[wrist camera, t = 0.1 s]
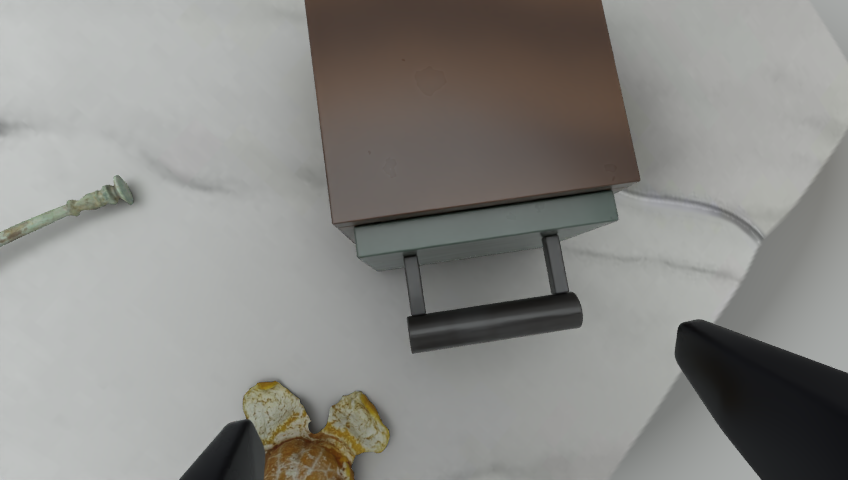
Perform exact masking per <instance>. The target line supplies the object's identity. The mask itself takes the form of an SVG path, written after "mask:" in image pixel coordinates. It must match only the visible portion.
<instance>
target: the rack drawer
mask: <svg viewBox="0 0 848 480" xmlns="http://www.w3.org/2000/svg"><path fill="white" fill-rule="evenodd" d="M615 221H618V214H617V209H616V204H615V199H614V194H613V191H612V190H608V191H601V192H594V193H587V194H580V195H573V196H566V197H559V198H552V199H545V200H538V201H534V200H530V201H523V202H515V203H508V204H501V205H494V206H487V207H480V208H473V209H466V210H459V211H452V212H445V213H438V214H431V215H424V216H416V217H409V218H402V219H395V220H388V221H381V223H375V224H368V225H361V226H355V227H354V236H355V244H356V252H357V257H358V258H359V259H360V260H362V261H363V262H365V263H366V264H367V265H369V266H370V267H372V268H373V269H375V270H376V271H384V270H390V269H397V268H404V267H405V274H406V281H407V288H408V295H409V302H410V309H411V315H412V316H409V317H407V323H408V331H409V338H410V345H411V351H412V353H413V354H415V353H421V352H427V351H434V350H440V349H446V348H453V347H459V346H465V345H472V344H478V343H485V342H491V341H497V340H504V339H510V338H516V337H523V336H529V335H536V334H542V333H548V332H555V331H561V330H567V329H574V328H579V327H581V325H582V322H583V313H582V308H581V304H580V302H579V299H578V297H577V296H576V294H575V293H573V292H569V288H568V283H567V277H566V272H565V267H564V262H563V256H562V251H561V246H560V241H563V240H565V239H568V238H571V237H574V236H576V235H579V234H582V233H585V232H588V231H590V230H593V229H596V228H599V227H601V226H604V225H607V224H610V223H613V222H615ZM540 247H543V250H544V256H545V261H546V267H547V272H548V277H549V283H550V288H551V293H552V294H553V295H546V296H540V297H533V298H527V299H520V300H513V301H507V302H500V303H494V304H487V305H481V306H474V307H468V308H461V309H455V310H448V311H441V312H435V313H428V314H426V309H425V303H424V296H423V289H422V282H421V276H420V269H419V265H424V264H431V263H438V262H445V261H452V260H458V259H465V258H472V257H479V256H486V255H492V254H499V253H506V252H513V251H520V250H526V249H533V248H540Z"/></svg>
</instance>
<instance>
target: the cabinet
mask: <svg viewBox="0 0 848 480" xmlns="http://www.w3.org/2000/svg"><path fill="white" fill-rule="evenodd" d="M305 8H306V16H307V24H308V32H309V40H310V48H311V56H312V64H313V72H314V80H315V89H316V97H317V105H318V113H319V121H320V129H321V137H322V145H323V153H324V161H325V169H326V177H327V185H328V193H329V201H330V210H331V218H332V224H333V225H334V226H335V227H337V228H338V229H339V230H340V231H341V232H342V233H344V234H345V235H346V236H347V237H348V238H349V239H350V240H351V241H352V242H353V243H355V236H354V227H355V226H361V225H368V224H375V223H381V221H388V220H395V219H402V218H409V217H416V216H424V215H431V214H438V213H445V212H452V211H459V210H466V209H473V208H480V207H487V206H494V205H501V204H508V203H515V202H523V201H530V200H534V201H538V200H545V199H552V198H559V197H566V196H573V195H580V194H587V193H594V192H601V191H608V190H612V191H613V194H615V193H617V192H619V191H621V190H623V189H625V188H627V187H629V186H631V185H633V184H635V183H637V182H639V181H640V175H639V171H638V166H637V162H636V157H635V152H634V148H633V143H632V139H631V134H630V129H629V125H628V120H627V116H626V111H625V107H624V102H623V97H622V93H621V88H620V84H619V79H618V74H617V70H616V65H615V61H614V56H613V51H612V47H611V42H610V38H609V33H608V28H607V24H606V19H605V15H604V10H603V6H602V1H601V0H305Z"/></svg>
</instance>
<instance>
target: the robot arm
mask: <svg viewBox="0 0 848 480" xmlns="http://www.w3.org/2000/svg"><path fill="white" fill-rule="evenodd" d="M675 358H676V361H677V363H678V365H679V367H680V368H681V370H682V371H683V373H684V374H685V376H686V377H687V379H688V380H689V382H690V383H691V384H692V386H693V388H694V389H695V391H696V392H697V394H698V395H699V397H700V398H701V400H702V401H703V403H704V404H705V406H706V407H707V409H708V410H709V412H710V413H711V415H712V417H713V418H714V419H715V421H716V422H717V424H718V425H719V427H720V428H721V429H722V431H723V432H724V433H725V435H726V436H727V437H728V438H729V440H730V441H731V442H732V444H733V445H734V446H735V447H736V448H737V450H738V451H739V452H740V453H741V455H742V456H743V457H744V458H745V460H746V461H747V462H748V463H749V465H750V466H751V467H752V468H753V470H754V471H755V472H756V473H757V475H758V476H759V477H760V478H761V480H848V373H846V372H843V371H841V370H838V369H835V368H832V367H830V366H827V365H824V364H821V363H819V362H816V361H813V360H811V359H808V358H805V357H802V356H800V355H797V354H794V353H791V352H789V351H786V350H783V349H781V348H778V347H775V346H772V345H770V344H767V343H764V342H762V341H759V340H756V339H753V338H751V337H748V336H745V335H742V334H740V333H737V332H734V331H732V330H729V329H726V328H723V327H721V326H718V325H715V324H713V323H710V322H707V321H704V320H700V319H698V320H692V321H688V322H683V323H681V324H680V325H679V327H678V331H677V339H676V346H675ZM264 470H265V449H264V445H263V443H262V441H261V439H260V437H259V435H258V433H257V430H256V428H255V426H254V424H253V423H252V421H251V420H249V419H244V420H240V421H235V422H231V423H229V424H227V425H226V426H225V427H224V428H223V430H222V431H221V432H220V433H219V434H218V435H217V436H216V438H215V439H214V440H213V441H212V442H211V443H210V445H209V446H208V447H207V448H206V449H205V450H204V452H203V453H202V454H201V455H200V456H199V457H198V458H197V460H196V461H195V462H194V463H193V464H192V465H191V467H190V468H189V469H188V470H187V471H186V472H185V474H184V475H183V476H182V477H181V478H180V479H179V480H264Z"/></svg>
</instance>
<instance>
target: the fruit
mask: <svg viewBox="0 0 848 480" xmlns="http://www.w3.org/2000/svg"><path fill="white" fill-rule="evenodd" d="M243 411H244V413H245V416H246V419H249V420H251V421H252V423H253V424H254V426H255V428H256V430H257V433H258V435H259V437H260V439H261V441H262V443H263V445H264V449H265V470H264V480H354V472H353V470H352V469H351V465H352V463H353V461H354V458H355V456H356V455H359V454H361V453H364V452H375V453H381V452H382V451H383V450H384V449H385V448H386V446H387V444H388V441H389V437H390V434H389V430H388V429H387V427H386V426H385V425H383V423H382V420H381V419H380V416H379V415H378V412H377V410H376V408H375V406H374V405H373V404H372V403H371V402H370V401H369V400H368V399H367V397H366V395H364V394H362V392H361V391H359V392H357V391H355V392H353V393H352V394H350V395H347V396H344V395H343V396H342V399H341V400H340V402H339V403H337V404H336V405H333V406H332V407H331V408H330V410H329V417H328V421H327V425H326V426H325V428H324V429H322V430H321V431H320V432H319V433H316V434H313V433H311V432H310V431H309V429H308V424H309V422H310V421H311V420H310V419H309V417H308V415H307V414H306V411H305V409H304V406H303V405H302V404H301V403H300V399H299V398H297V397H296V396H294V395H293V394H292V393H291V392H290V391H289V390H288V389H287V388H284V387H283V386H282V385H281V384H280V383H278V382H276V381H274V382H260V383H257V384H256V386H254V387H252V388H250V389H249V391H248V392H247V393H246V394H245V395H244V398H243Z"/></svg>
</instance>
